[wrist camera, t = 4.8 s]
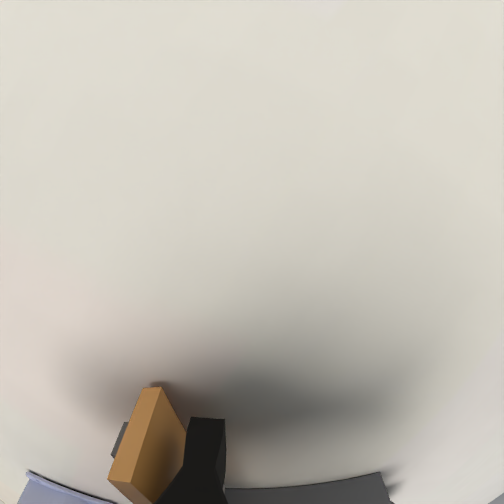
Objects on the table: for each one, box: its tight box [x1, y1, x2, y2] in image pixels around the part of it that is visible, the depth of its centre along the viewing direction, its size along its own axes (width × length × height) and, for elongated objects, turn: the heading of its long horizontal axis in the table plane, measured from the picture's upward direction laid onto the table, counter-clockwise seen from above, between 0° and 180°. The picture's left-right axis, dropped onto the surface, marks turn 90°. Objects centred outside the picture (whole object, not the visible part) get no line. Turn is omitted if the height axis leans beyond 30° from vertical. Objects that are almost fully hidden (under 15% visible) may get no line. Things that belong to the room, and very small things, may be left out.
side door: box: [107, 387, 225, 504], centre depth 9 cm, size 9×1×5 cm, turn 12°
